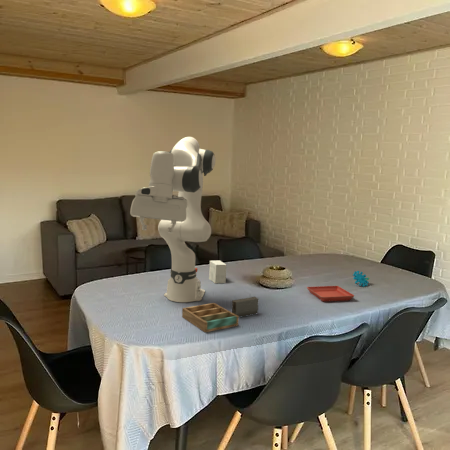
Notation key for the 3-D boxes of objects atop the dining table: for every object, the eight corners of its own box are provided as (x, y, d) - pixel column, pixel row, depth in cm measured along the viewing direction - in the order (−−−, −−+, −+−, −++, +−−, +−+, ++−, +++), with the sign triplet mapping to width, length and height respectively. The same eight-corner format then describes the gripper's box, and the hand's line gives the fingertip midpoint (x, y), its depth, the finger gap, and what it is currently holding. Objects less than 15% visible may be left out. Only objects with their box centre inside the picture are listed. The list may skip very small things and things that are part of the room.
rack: (204, 332, 182) (205, 322, 182) (182, 317, 198) (182, 308, 197) (238, 325, 191) (238, 316, 190) (214, 311, 207) (214, 302, 206)
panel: (235, 318, 200) (236, 302, 199) (231, 315, 202) (232, 300, 201) (257, 313, 206) (258, 298, 205) (253, 311, 209) (254, 296, 208)
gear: (357, 285, 253) (351, 269, 258) (351, 290, 257) (345, 274, 262) (373, 286, 257) (367, 270, 263) (366, 291, 261) (361, 276, 267)
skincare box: (226, 283, 252) (227, 264, 250) (215, 283, 250) (215, 264, 248) (219, 278, 262) (220, 259, 260) (208, 278, 259) (209, 260, 258)
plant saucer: (305, 292, 242) (306, 286, 242) (337, 291, 247) (337, 285, 246) (321, 303, 225) (321, 297, 224) (354, 302, 229) (355, 295, 229)
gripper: (185, 199, 176) (182, 235, 174) (131, 192, 169) (127, 229, 167) (190, 196, 170) (187, 233, 168) (134, 188, 163) (130, 227, 161)
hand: (157, 231), depth 167 cm, fingers open, 8 cm apart
